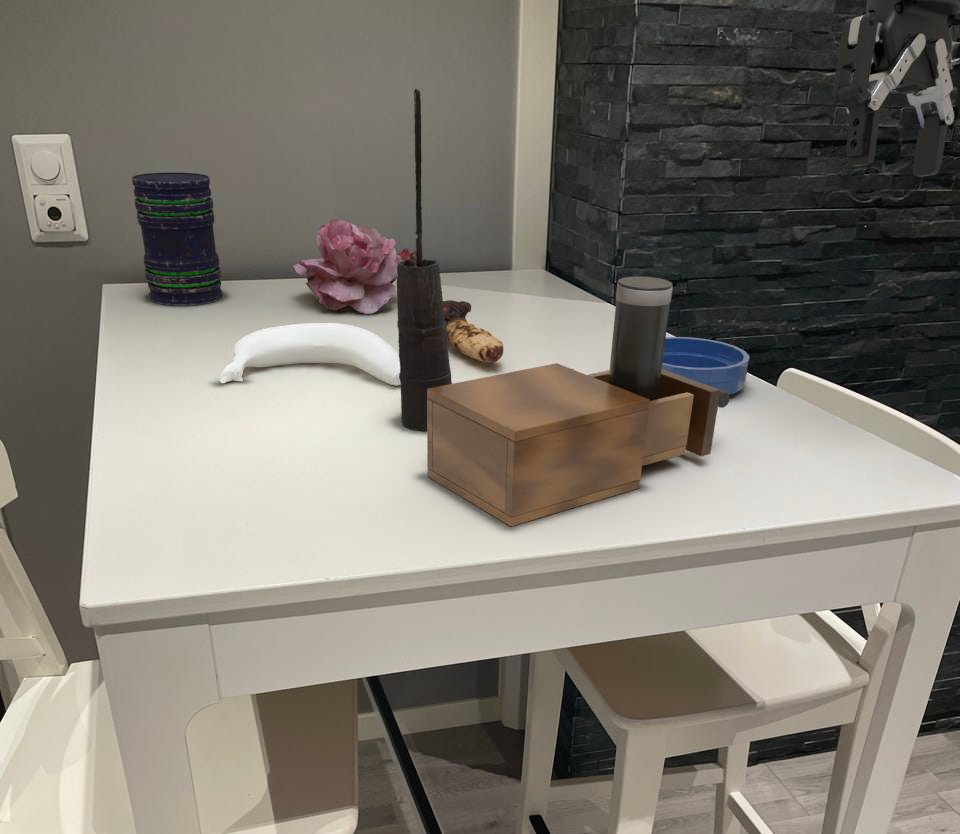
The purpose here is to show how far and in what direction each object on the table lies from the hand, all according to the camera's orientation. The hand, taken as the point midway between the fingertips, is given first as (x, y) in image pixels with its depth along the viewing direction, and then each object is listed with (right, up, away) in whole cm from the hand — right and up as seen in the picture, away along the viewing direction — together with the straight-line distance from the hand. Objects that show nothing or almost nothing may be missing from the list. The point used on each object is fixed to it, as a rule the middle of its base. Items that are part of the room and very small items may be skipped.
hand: (893, 170), depth 82 cm
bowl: (-13, -12, +23) cm, 29 cm away
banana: (-53, -12, +22) cm, 58 cm away
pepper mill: (-22, -22, +4) cm, 31 cm away
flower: (-52, +6, +51) cm, 73 cm away
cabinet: (-31, -27, -1) cm, 41 cm away
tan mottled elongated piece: (-38, -6, +31) cm, 50 cm away
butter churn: (-40, -18, +12) cm, 46 cm away
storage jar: (-75, +7, +51) cm, 91 cm away
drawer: (-21, -22, +5) cm, 31 cm away
